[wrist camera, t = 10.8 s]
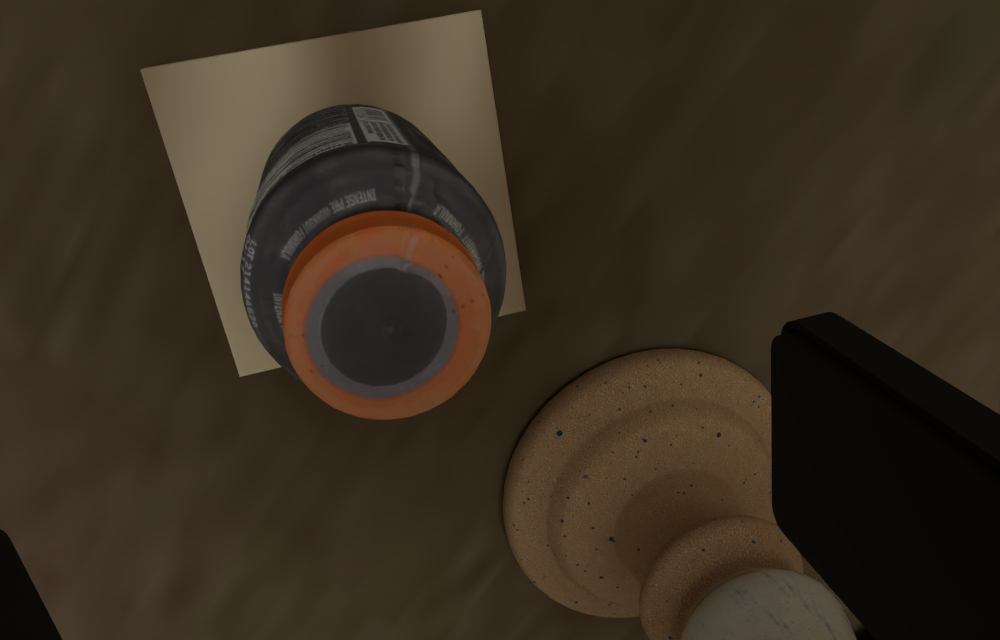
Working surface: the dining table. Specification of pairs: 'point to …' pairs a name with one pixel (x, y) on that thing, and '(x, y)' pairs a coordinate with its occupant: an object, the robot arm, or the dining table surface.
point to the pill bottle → (371, 264)
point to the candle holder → (663, 504)
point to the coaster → (307, 89)
